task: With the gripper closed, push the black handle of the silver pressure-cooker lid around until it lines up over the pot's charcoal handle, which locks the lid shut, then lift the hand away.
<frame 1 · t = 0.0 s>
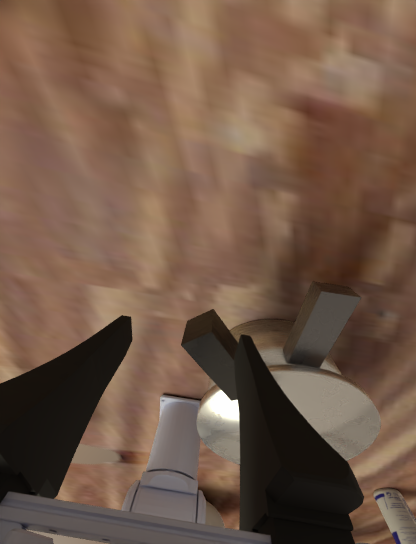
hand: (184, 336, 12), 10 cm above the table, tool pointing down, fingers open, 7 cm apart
energy drink: (385, 491, 42), on the table
serving bowl: (189, 498, 53), on the table
cooker lid: (267, 413, 18), point 8 cm above the table, hinge at 40.0°
cooker pot: (266, 363, 27), on the table
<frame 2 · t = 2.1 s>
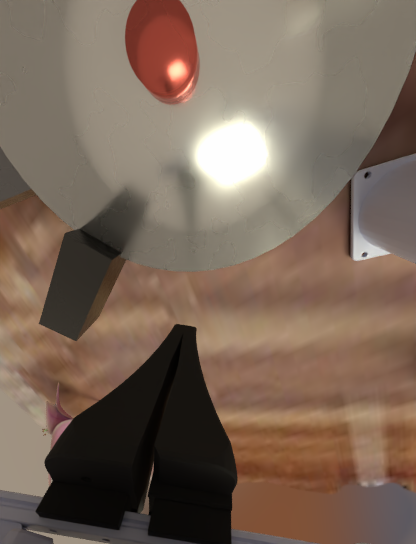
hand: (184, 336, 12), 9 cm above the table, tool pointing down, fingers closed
cooker lid: (136, 153, 9), point 8 cm above the table, hinge at 40.0°
lily: (79, 394, 33), on the table
cooker pot: (197, 123, 15), on the table
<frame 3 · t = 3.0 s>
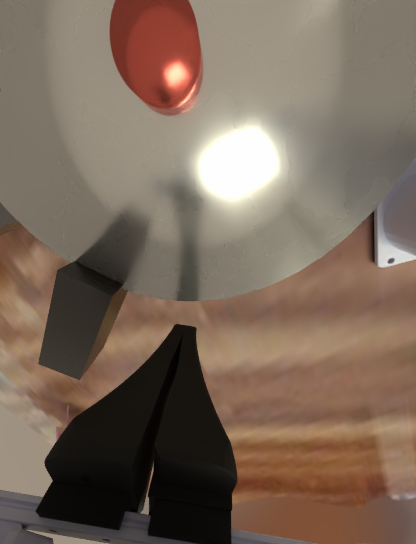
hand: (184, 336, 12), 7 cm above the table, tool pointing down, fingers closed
cooker lid: (133, 175, 8), point 8 cm above the table, hinge at 40.0°
cooker pot: (198, 131, 14), on the table
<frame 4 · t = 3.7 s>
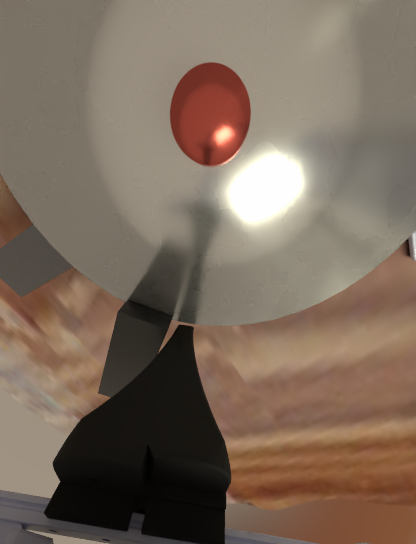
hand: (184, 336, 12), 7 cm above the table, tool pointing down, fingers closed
cooker lid: (181, 220, 8), point 8 cm above the table, hinge at 38.9°, touching gripper
cooker pot: (218, 156, 14), on the table
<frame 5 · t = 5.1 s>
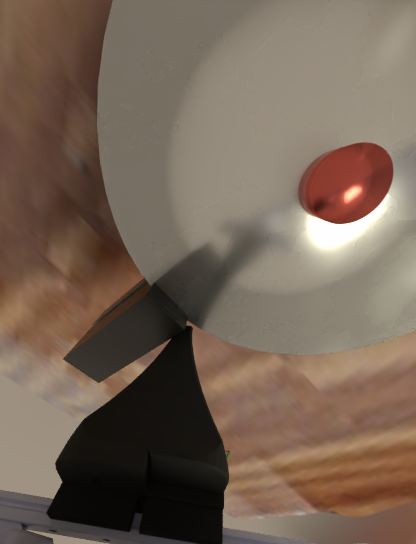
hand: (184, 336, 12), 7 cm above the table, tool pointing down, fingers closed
cooker lid: (253, 240, 8), point 8 cm above the table, hinge at -0.4°, touching gripper
cooker pot: (276, 184, 15), on the table
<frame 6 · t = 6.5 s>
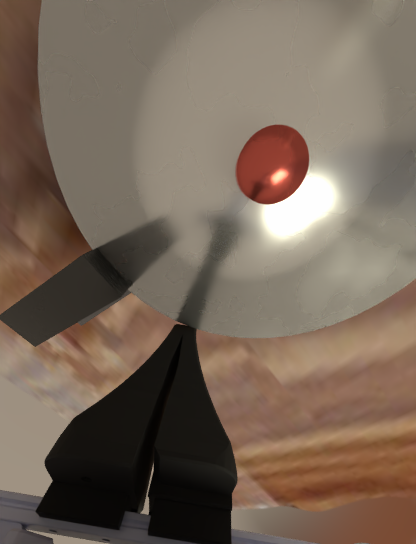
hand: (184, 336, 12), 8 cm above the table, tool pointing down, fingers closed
cooker lid: (193, 215, 9), point 8 cm above the table, hinge at -3.1°
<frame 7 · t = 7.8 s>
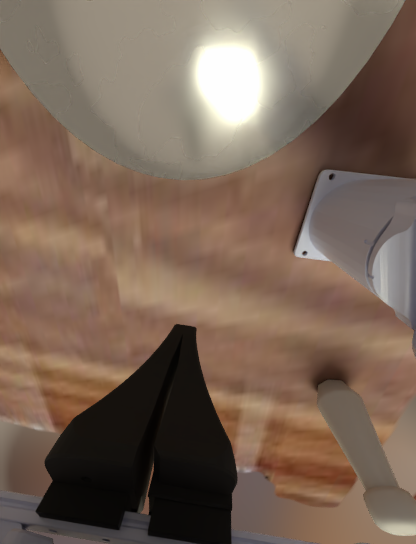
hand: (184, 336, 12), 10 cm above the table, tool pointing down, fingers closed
beige pestle: (330, 386, 29), on the table
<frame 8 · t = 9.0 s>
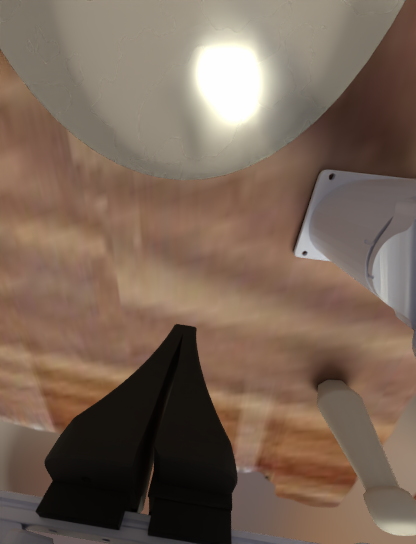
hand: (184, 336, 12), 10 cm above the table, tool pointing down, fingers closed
beige pestle: (330, 386, 29), on the table
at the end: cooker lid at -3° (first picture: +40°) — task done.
